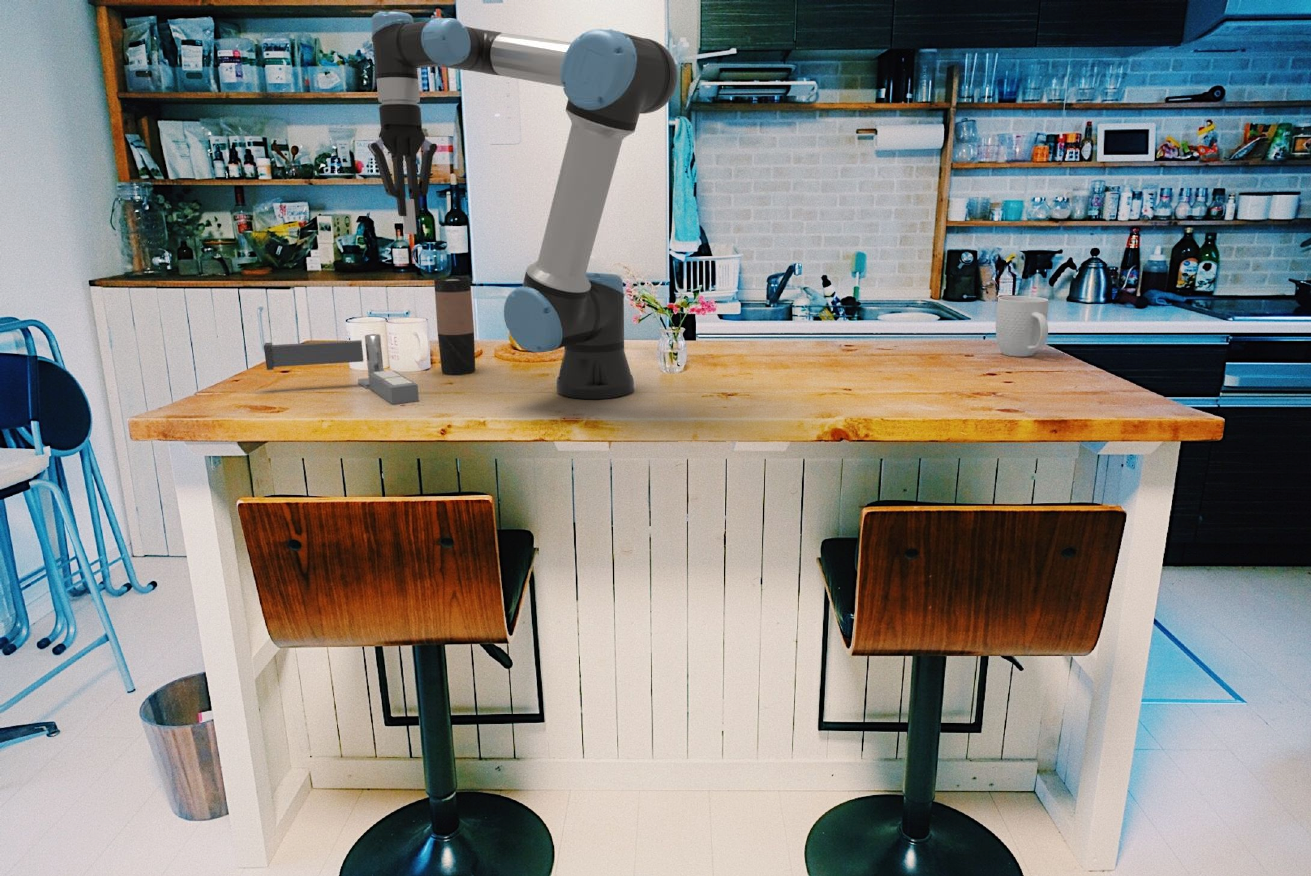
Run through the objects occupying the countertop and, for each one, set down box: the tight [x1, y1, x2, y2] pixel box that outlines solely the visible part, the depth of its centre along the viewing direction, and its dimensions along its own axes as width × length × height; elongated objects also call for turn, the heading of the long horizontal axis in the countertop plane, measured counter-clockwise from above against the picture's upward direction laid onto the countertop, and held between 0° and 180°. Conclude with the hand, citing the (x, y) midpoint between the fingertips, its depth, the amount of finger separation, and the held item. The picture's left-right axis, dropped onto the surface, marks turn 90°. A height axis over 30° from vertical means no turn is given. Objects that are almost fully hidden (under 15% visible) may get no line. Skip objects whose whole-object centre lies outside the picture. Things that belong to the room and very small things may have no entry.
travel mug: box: [433, 276, 476, 376], centre depth 190 cm, size 8×8×20 cm
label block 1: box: [368, 369, 405, 398], centre depth 175 cm, size 8×5×4 cm, turn 32°
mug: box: [995, 295, 1050, 358], centre depth 205 cm, size 15×11×13 cm
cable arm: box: [263, 339, 364, 371], centre depth 176 cm, size 18×3×5 cm, turn 107°
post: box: [357, 333, 385, 389], centre depth 180 cm, size 6×6×10 cm
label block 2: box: [380, 376, 420, 405], centre depth 169 cm, size 8×5×4 cm, turn 32°
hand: (410, 233), depth 172 cm, fingers closed
